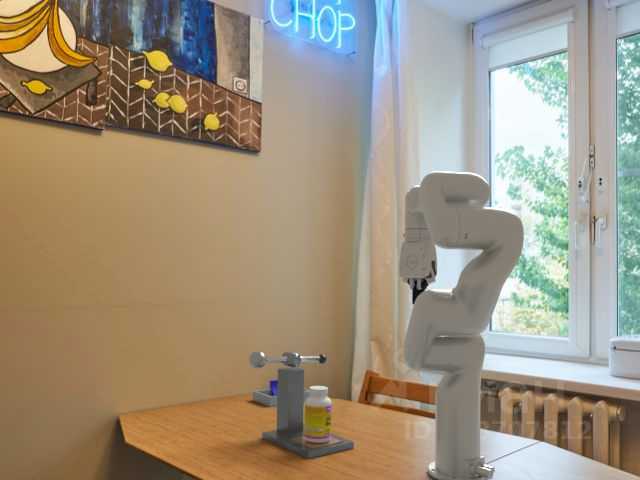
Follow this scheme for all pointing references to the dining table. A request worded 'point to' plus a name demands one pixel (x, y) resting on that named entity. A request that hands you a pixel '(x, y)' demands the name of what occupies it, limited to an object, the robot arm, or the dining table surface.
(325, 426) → the supplement bottle
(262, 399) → the tray
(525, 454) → the dining table surface
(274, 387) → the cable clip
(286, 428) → the press frame
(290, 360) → the press lever
